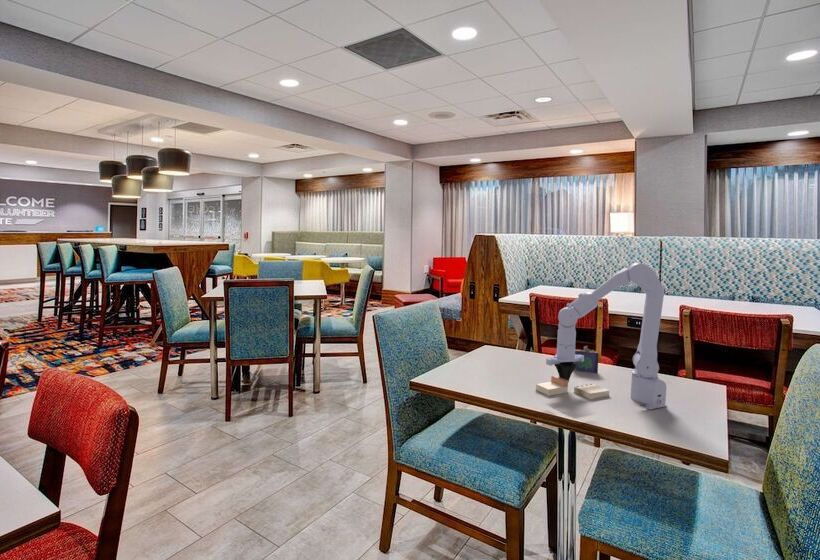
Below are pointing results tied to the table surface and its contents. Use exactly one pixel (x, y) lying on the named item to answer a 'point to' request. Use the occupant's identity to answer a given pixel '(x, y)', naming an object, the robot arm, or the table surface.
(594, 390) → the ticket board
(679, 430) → the table surface
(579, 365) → the flask
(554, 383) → the cream block with bar
